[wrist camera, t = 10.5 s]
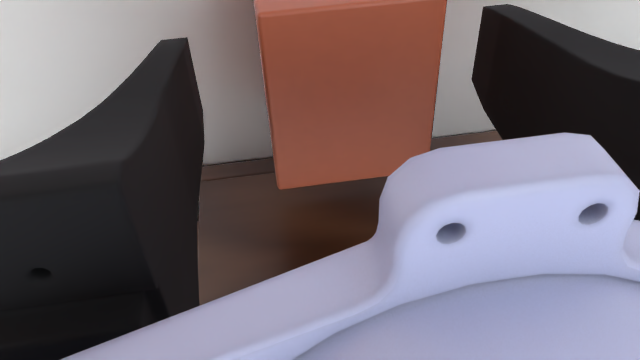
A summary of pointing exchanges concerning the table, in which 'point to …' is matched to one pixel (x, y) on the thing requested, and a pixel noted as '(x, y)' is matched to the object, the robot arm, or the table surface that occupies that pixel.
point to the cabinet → (282, 220)
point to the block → (348, 85)
